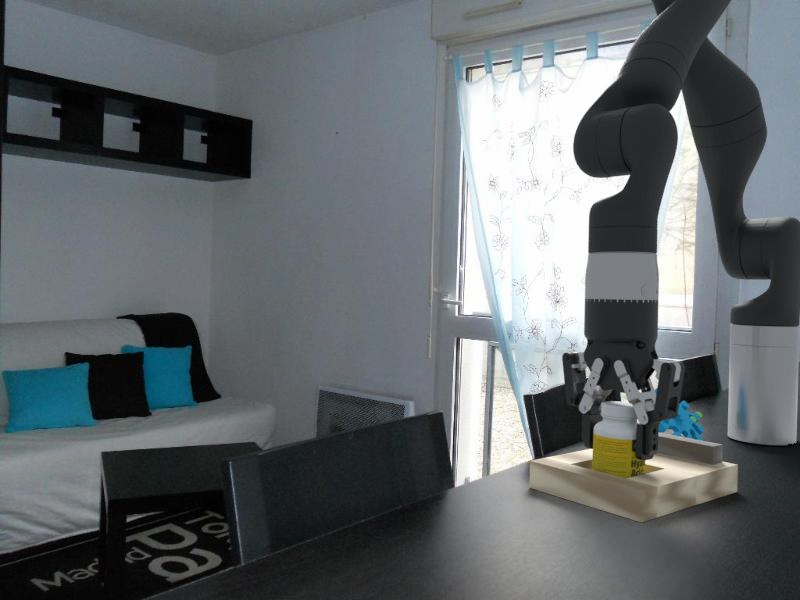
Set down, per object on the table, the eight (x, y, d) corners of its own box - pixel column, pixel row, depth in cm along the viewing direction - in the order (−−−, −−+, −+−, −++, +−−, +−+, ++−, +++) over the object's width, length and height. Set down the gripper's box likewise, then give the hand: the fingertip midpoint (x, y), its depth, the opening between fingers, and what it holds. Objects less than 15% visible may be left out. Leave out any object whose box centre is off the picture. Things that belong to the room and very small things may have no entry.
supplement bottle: (637, 505, 72) (639, 409, 72) (585, 496, 75) (587, 404, 74) (649, 493, 76) (651, 403, 76) (599, 485, 79) (601, 398, 79)
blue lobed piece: (670, 438, 97) (638, 381, 104) (644, 462, 101) (614, 405, 107) (724, 443, 102) (689, 388, 109) (696, 465, 106) (665, 411, 113)
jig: (626, 465, 88) (627, 425, 88) (737, 491, 77) (738, 446, 77) (529, 487, 77) (530, 442, 77) (641, 522, 66) (642, 469, 66)
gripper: (703, 297, 72) (700, 462, 72) (588, 295, 83) (585, 437, 83) (662, 297, 67) (658, 472, 67) (545, 295, 79) (542, 445, 79)
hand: (617, 452), depth 75 cm, fingers open, 6 cm apart
